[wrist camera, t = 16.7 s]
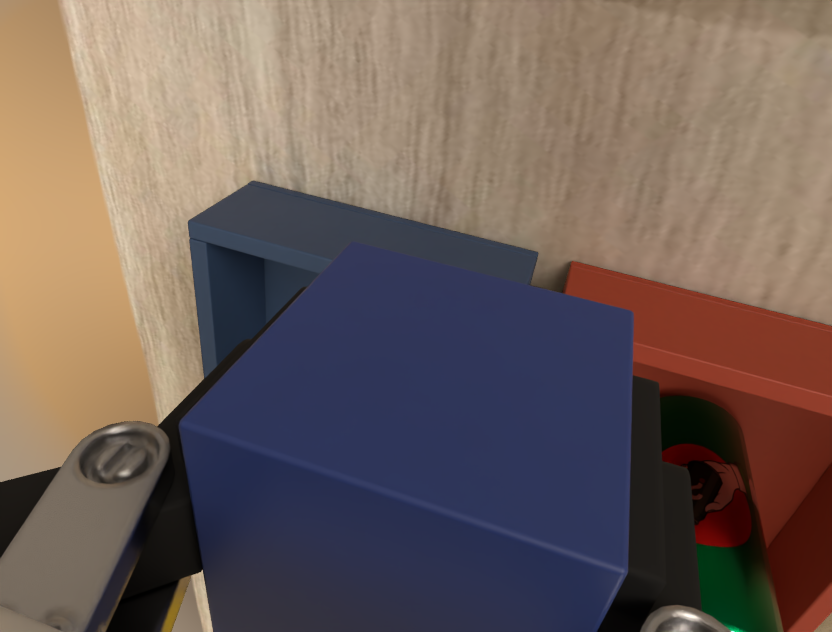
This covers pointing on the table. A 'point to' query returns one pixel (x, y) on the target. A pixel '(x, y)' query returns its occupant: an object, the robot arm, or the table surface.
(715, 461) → the soda can
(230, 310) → the blue bin
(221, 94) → the table surface
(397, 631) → the blue block
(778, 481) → the red bin
